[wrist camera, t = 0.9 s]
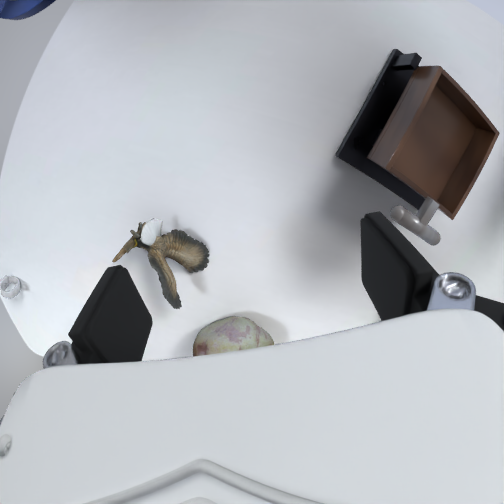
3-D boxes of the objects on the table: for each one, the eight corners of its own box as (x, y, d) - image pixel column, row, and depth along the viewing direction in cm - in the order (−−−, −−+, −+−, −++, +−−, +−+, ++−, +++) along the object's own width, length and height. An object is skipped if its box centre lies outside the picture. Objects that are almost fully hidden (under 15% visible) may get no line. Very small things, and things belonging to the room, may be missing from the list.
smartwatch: (23, 278, 34) (10, 293, 31) (25, 288, 35) (13, 304, 32) (8, 271, 34) (-5, 285, 30) (10, 281, 35) (-3, 296, 31)
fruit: (270, 301, 37) (279, 378, 27) (273, 349, 42) (280, 419, 31) (191, 307, 37) (177, 382, 27) (204, 353, 42) (198, 423, 32)
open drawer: (415, 66, 20) (455, 65, 14) (475, 125, 22) (514, 138, 17) (349, 185, 26) (375, 210, 21) (417, 228, 28) (446, 257, 23)
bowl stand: (393, 49, 22) (415, 44, 18) (468, 118, 25) (493, 125, 21) (335, 155, 28) (350, 166, 24) (418, 209, 31) (438, 226, 27)
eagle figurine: (118, 261, 32) (178, 308, 34) (104, 260, 25) (178, 318, 27) (157, 210, 33) (216, 257, 35) (152, 197, 27) (225, 254, 28)
